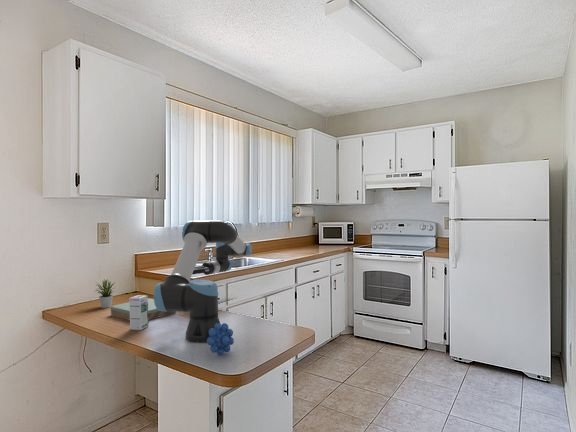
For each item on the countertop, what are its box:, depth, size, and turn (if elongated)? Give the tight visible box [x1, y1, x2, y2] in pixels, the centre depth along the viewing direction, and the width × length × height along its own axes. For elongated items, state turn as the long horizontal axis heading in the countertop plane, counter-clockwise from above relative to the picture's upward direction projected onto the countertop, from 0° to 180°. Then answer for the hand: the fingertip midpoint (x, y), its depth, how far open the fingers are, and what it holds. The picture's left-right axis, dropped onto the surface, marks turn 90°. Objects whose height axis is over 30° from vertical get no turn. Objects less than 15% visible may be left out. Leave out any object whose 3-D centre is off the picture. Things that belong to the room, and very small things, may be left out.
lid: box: [109, 297, 159, 314], centre depth 190 cm, size 22×25×8 cm
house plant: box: [93, 278, 115, 309], centre depth 207 cm, size 14×14×16 cm
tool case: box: [110, 309, 177, 321], centre depth 190 cm, size 22×24×3 cm
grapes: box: [206, 322, 235, 356], centre depth 131 cm, size 12×7×12 cm, turn 138°
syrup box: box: [128, 294, 150, 331], centre depth 166 cm, size 6×6×14 cm
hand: (178, 273), depth 196 cm, fingers closed
